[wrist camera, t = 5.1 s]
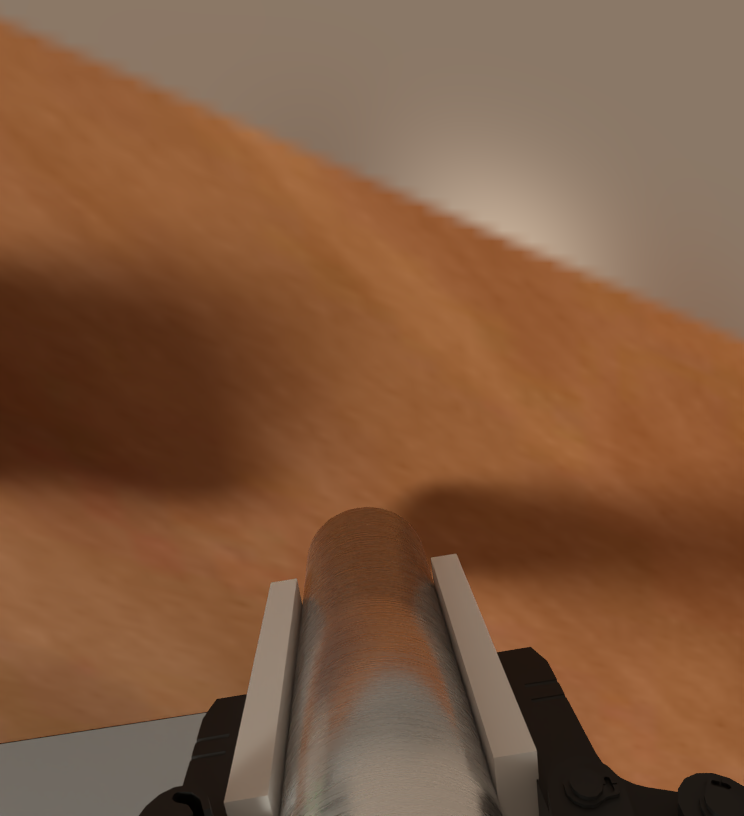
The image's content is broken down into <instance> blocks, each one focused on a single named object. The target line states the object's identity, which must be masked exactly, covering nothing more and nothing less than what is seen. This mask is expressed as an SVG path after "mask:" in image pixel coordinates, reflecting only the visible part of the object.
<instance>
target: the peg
mask: <svg viewBox="0 0 744 816" xmlns="http://www.w3.org/2000/svg"><path fill="white" fill-rule="evenodd" d="M280 816H503V813H502V809H501V806H500V803H499V801H498V798H497V794H496V791H495V788H494V784H493V781H492V777H491V774H490V771H489V767H488V764H487V761H486V757H485V754H484V751H483V747H482V744H481V741H480V737H479V734H478V731H477V727H476V724H475V720H474V717H473V714H472V710H471V707H470V704H469V700H468V697H467V694H466V690H465V687H464V684H463V680H462V677H461V674H460V670H459V667H458V664H457V660H456V657H455V653H454V650H453V647H452V643H451V640H450V637H449V633H448V630H447V627H446V623H445V620H444V617H443V613H442V610H441V607H440V603H439V600H438V596H437V593H436V590H435V586H434V582H433V579H432V575H431V572H430V569H429V565H428V562H427V559H426V555H425V552H424V549H423V545H422V543H421V540H420V538H419V536H418V534H417V532H416V531H415V529H414V528H413V527H412V526H411V525H410V524H409V523H408V522H407V521H406V520H405V519H403V518H402V517H400V516H399V515H397V514H395V513H393V512H390V511H388V510H384V509H380V508H371V507H364V508H356V509H351V510H348V511H345V512H342V513H340V514H338V515H336V516H334V517H333V518H331V519H330V520H329V521H327V522H326V523H325V524H324V525H323V526H322V527H321V528H320V529H319V530H318V532H317V533H316V535H315V536H314V538H313V540H312V542H311V545H310V548H309V552H308V559H307V568H306V577H305V586H304V595H303V605H302V614H301V623H300V632H299V642H298V651H297V660H296V669H295V679H294V688H293V697H292V706H291V715H290V725H289V734H288V743H287V752H286V762H285V771H284V780H283V789H282V798H281V808H280Z"/></svg>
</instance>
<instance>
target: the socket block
mask: <svg viewBox="0 0 744 816" xmlns="http://www.w3.org/2000/svg"><path fill="white" fill-rule="evenodd" d="M205 715H206V713H201V714H195V715H188V716H181V717H175V718H168V719H162V720H155V721H149V722H142V723H136V724H129V725H122V726H116V727H109V728H103V729H96V730H90V731H83V732H77V733H70V734H63V735H57V736H50V737H44V738H37V739H31V740H24V741H18V742H11V743H5V744H0V816H139V815H140V813H141V812H142V810H143V809H144V808H145V806H146V805H148V804H149V803H150V802H151V801H152V800H153V799H155V798H156V797H157V796H158V795H159V794H161V793H163V792H165V791H167V790H169V789H171V788H173V787H178V786H183V782H184V779H185V776H186V772H187V769H188V766H189V762H190V761H191V756H192V752H193V749H194V746H195V743H197V736H198V733H199V729H200V726H201V723H202V719H203V717H204V716H205Z"/></svg>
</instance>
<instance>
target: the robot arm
mask: <svg viewBox="0 0 744 816" xmlns="http://www.w3.org/2000/svg"><path fill="white" fill-rule="evenodd" d="M431 563H432V572H433V580H434V586H435V590H436V593H437V596H438V600H439V603H440V607H441V610H442V613H443V617H444V620H445V623H446V627H447V630H448V633H449V637H450V640H451V643H452V647H453V650H454V653H455V657H456V660H457V664H458V667H459V670H460V674H461V677H462V680H463V684H464V687H465V690H466V694H467V697H468V700H469V704H470V707H471V710H472V714H473V717H474V720H475V724H476V727H477V731H478V734H479V737H480V741H481V744H482V747H483V751H484V754H485V757H486V761H487V764H488V767H489V771H490V774H491V777H492V781H493V784H494V788H495V791H496V794H497V798H498V801H499V803H500V806H501V809H502V813H503V816H744V786H742V785H740V784H739V783H737V782H735V781H733V780H732V779H730V778H727V777H723V776H720V775H717V774H713V773H696V774H694V775H692V776H690V777H687V778H685V779H684V780H683V782H682V784H681V785H680V787H679V788H678V792H674V791H668V790H661V789H655V788H648V787H644V786H640V785H636V784H633V783H631V782H629V781H626V780H624V779H622V778H620V777H619V776H617V775H616V774H615V773H614V772H613V771H612V770H611V769H610V768H609V767H608V766H607V765H605V764H603V763H602V762H601V760H600V759H599V757H598V756H597V754H596V753H595V751H594V749H593V747H592V745H591V743H590V741H589V739H588V738H587V736H586V734H585V732H584V730H583V728H582V726H581V724H580V722H579V720H578V719H577V717H576V715H575V713H574V711H573V709H572V707H571V705H570V703H569V702H568V700H567V698H565V695H564V692H563V690H562V688H561V686H560V684H559V683H558V682H557V679H556V677H555V675H554V673H553V671H552V669H551V667H550V666H549V664H548V662H547V661H546V660H545V659H544V658H543V657H542V656H541V655H539V654H538V653H537V652H536V651H535V650H534V649H532V648H531V647H527V648H521V649H515V650H509V651H503V652H496V650H495V647H494V645H493V642H492V640H491V637H490V635H489V632H488V630H487V627H486V625H485V623H484V620H483V618H482V615H481V613H480V610H479V608H478V605H477V603H476V601H475V598H474V596H473V593H472V591H471V588H470V586H469V583H468V581H467V579H466V576H465V574H464V571H463V569H462V566H461V564H460V561H459V559H458V556H457V554H451V555H444V556H438V557H432V558H431ZM301 614H302V602H301V597H300V592H299V587H298V582H297V579H292V580H285V581H279V582H272V583H271V585H270V590H269V594H268V599H267V604H266V608H265V613H264V618H263V622H262V627H261V632H260V636H259V641H258V646H257V650H256V655H255V659H254V664H253V669H252V673H251V678H250V683H249V687H248V692H247V694H246V695H239V696H233V697H227V698H221V699H217V700H216V701H215V702H214V704H213V705H212V706H211V708H210V709H209V711H208V712H207V713H206V715H205V716H204V717H203V719H202V723H201V726H200V729H199V733H198V736H197V743H195V746H194V749H193V752H192V756H191V761H190V762H189V766H188V769H187V772H186V776H185V779H184V782H183V786H178V787H173V788H171V789H169V790H167V791H165V792H163V793H161V794H159V795H158V796H157V797H156V798H155V799H153V800H152V801H151V802H150V803H149V804H148V805H146V806H145V808H144V809H143V810H142V812H141V813H140V815H139V816H280V808H281V798H282V789H283V780H284V771H285V762H286V752H287V743H288V734H289V725H290V715H291V706H292V697H293V688H294V679H295V669H296V660H297V651H298V642H299V632H300V623H301Z"/></svg>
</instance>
